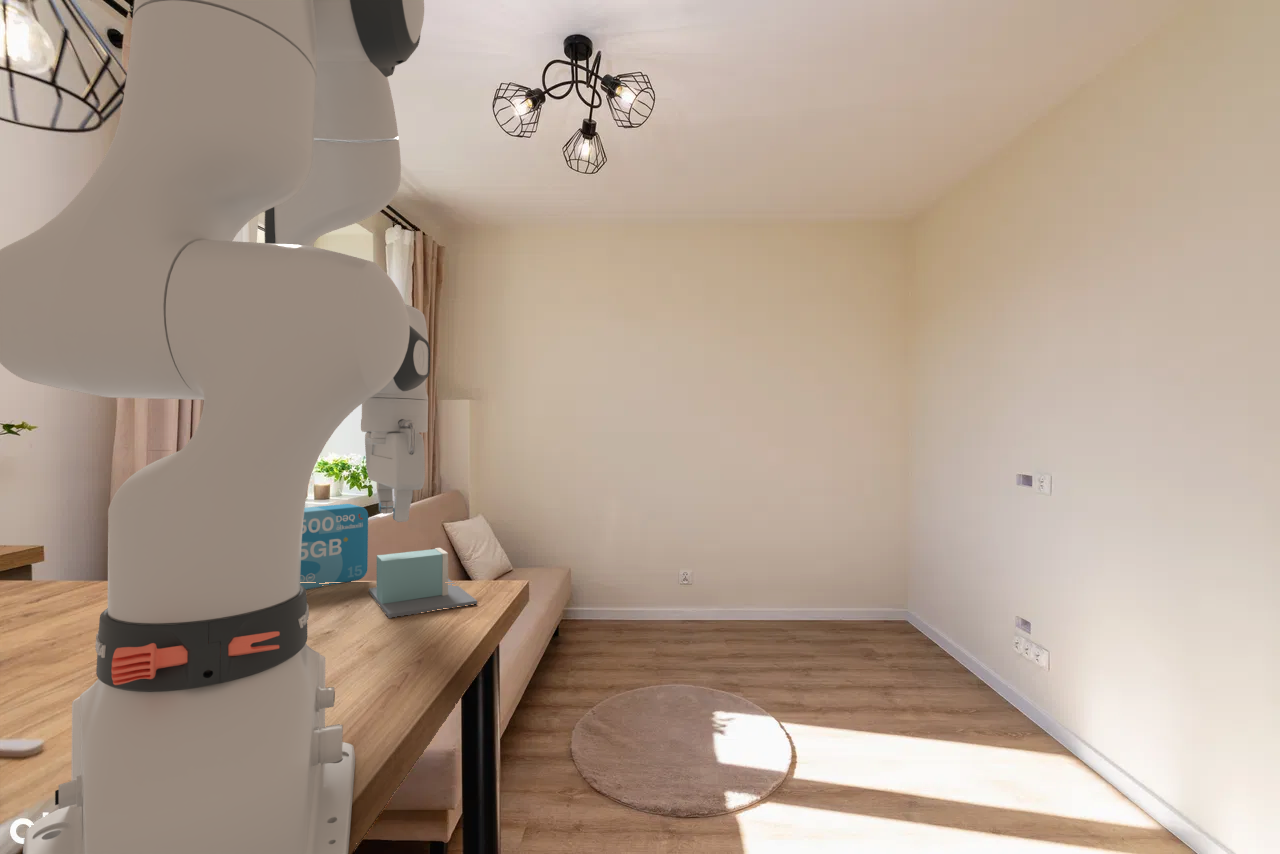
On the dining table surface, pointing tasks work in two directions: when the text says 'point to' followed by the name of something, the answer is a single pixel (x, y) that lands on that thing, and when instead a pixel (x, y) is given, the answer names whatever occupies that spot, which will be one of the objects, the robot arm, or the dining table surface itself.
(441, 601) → the felt mat
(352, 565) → the data package
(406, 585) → the tea tin
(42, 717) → the dining table surface
